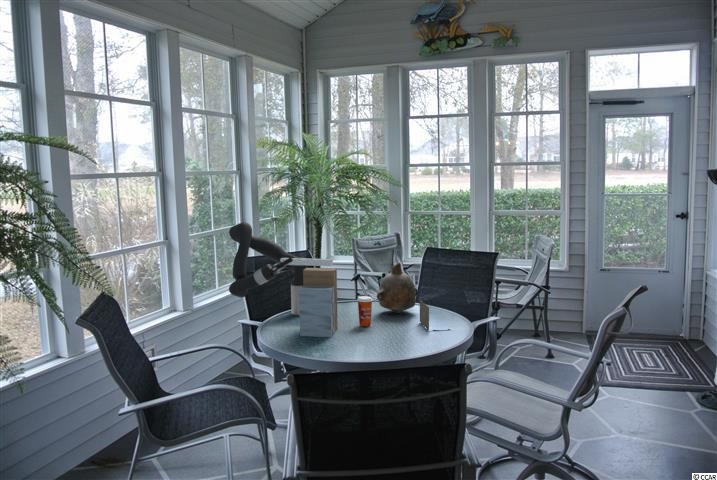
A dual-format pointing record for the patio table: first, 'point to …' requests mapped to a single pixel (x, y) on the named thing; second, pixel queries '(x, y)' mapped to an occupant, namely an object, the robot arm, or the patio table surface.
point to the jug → (397, 291)
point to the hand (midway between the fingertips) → (292, 258)
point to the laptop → (424, 314)
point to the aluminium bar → (309, 261)
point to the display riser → (318, 302)
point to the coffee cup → (364, 310)
